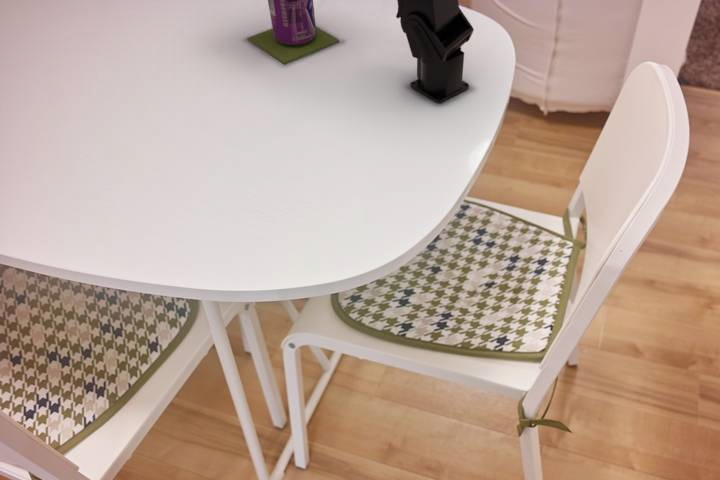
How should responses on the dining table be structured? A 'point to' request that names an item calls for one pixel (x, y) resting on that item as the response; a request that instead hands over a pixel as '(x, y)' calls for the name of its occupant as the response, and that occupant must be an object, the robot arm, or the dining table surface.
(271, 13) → the beverage can
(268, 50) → the mat
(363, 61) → the dining table surface
